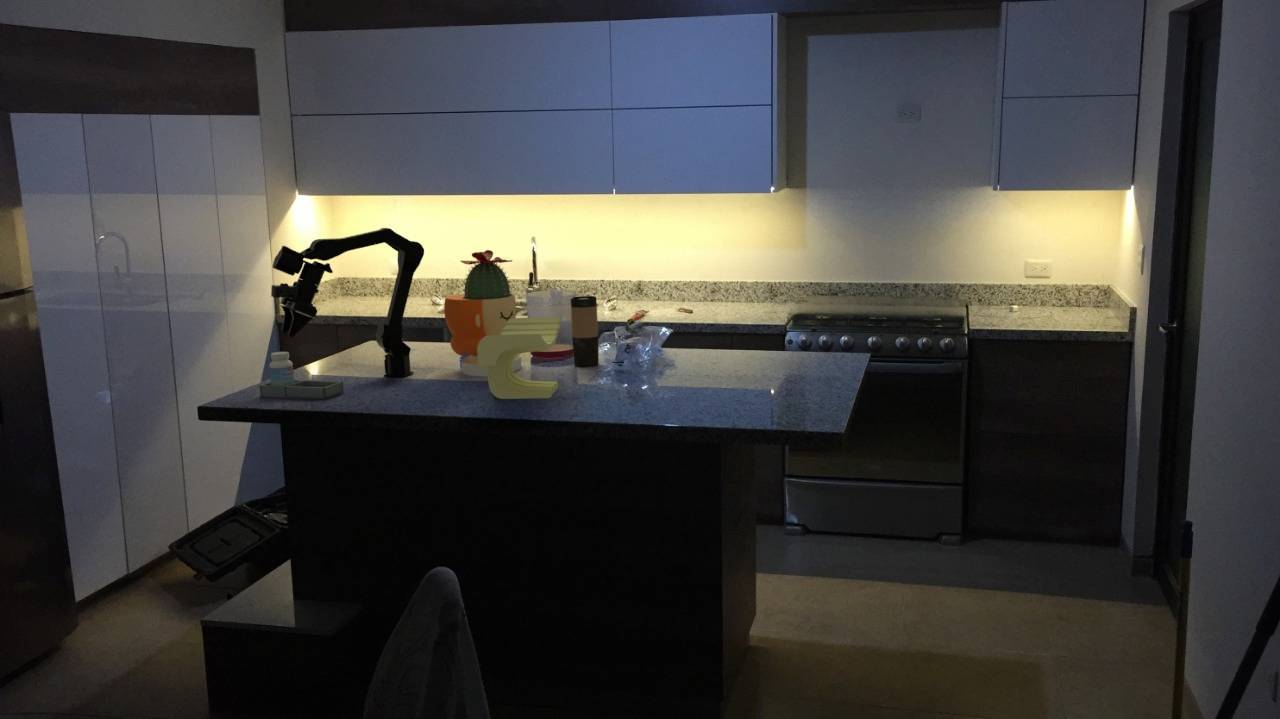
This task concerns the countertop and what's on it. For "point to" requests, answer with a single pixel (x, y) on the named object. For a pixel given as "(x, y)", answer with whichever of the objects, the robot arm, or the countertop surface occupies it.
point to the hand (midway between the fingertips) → (287, 334)
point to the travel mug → (584, 331)
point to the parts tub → (303, 389)
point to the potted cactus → (480, 310)
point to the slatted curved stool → (513, 341)
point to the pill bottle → (281, 369)
